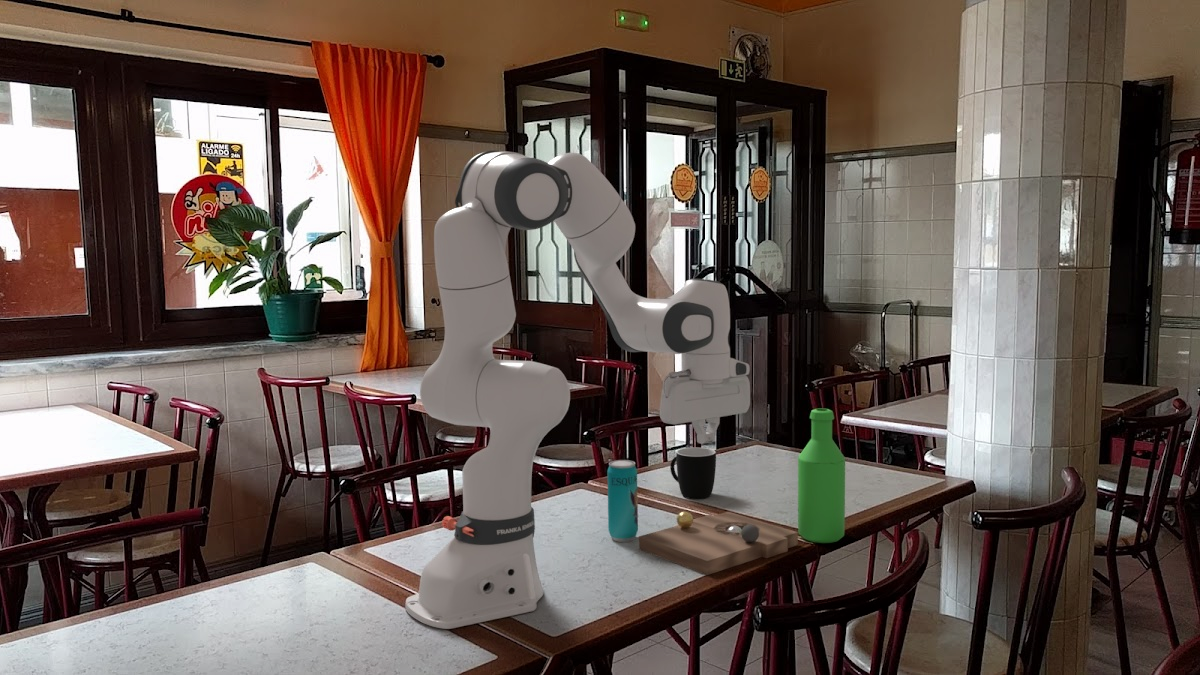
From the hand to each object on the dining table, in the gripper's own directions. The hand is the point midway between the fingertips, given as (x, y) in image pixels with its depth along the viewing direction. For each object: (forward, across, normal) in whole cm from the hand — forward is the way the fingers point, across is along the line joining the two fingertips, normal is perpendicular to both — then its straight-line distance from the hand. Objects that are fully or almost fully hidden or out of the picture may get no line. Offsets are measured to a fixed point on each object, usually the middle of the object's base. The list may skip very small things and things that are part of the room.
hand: (705, 442), depth 169 cm
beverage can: (+21, -7, +16) cm, 27 cm away
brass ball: (+16, +1, +7) cm, 18 cm away
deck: (+20, +3, 0) cm, 21 cm away
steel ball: (+19, +8, 0) cm, 20 cm away
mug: (+20, +25, +30) cm, 44 cm away
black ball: (+16, +4, -7) cm, 18 cm away
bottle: (+20, +22, -9) cm, 32 cm away
